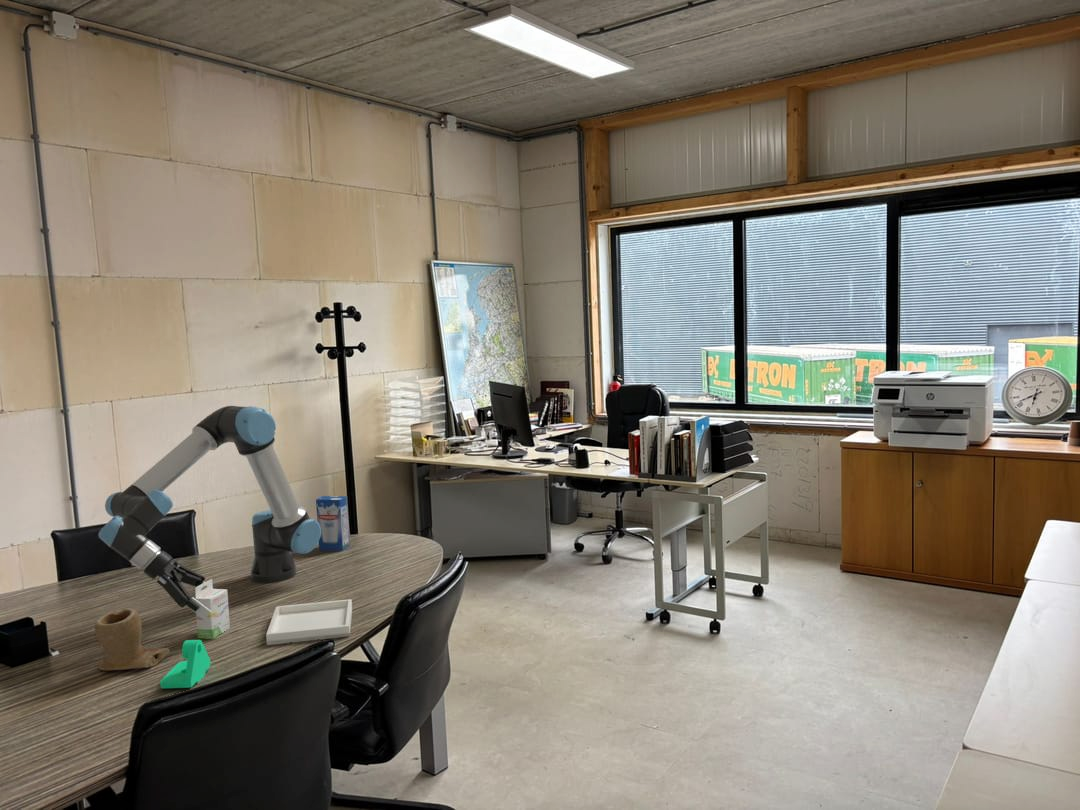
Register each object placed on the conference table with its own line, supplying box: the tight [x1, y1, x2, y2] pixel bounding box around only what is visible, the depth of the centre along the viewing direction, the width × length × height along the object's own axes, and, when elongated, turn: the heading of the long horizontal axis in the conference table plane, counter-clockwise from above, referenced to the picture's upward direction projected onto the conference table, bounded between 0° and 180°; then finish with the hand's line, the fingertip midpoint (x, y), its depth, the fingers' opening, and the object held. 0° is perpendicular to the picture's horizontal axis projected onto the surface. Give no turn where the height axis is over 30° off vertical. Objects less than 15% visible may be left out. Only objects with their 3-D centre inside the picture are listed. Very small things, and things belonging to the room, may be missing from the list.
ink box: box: [194, 578, 231, 640], centre depth 224 cm, size 9×5×15 cm, turn 168°
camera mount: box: [159, 639, 212, 689], centre depth 195 cm, size 12×8×10 cm, turn 1°
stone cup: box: [94, 608, 170, 671], centre depth 203 cm, size 15×12×15 cm
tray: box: [265, 598, 353, 646], centre depth 228 cm, size 22×22×3 cm
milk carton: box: [315, 495, 350, 552], centre depth 307 cm, size 10×6×20 cm, turn 79°
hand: (213, 607), depth 224 cm, fingers open, 13 cm apart
